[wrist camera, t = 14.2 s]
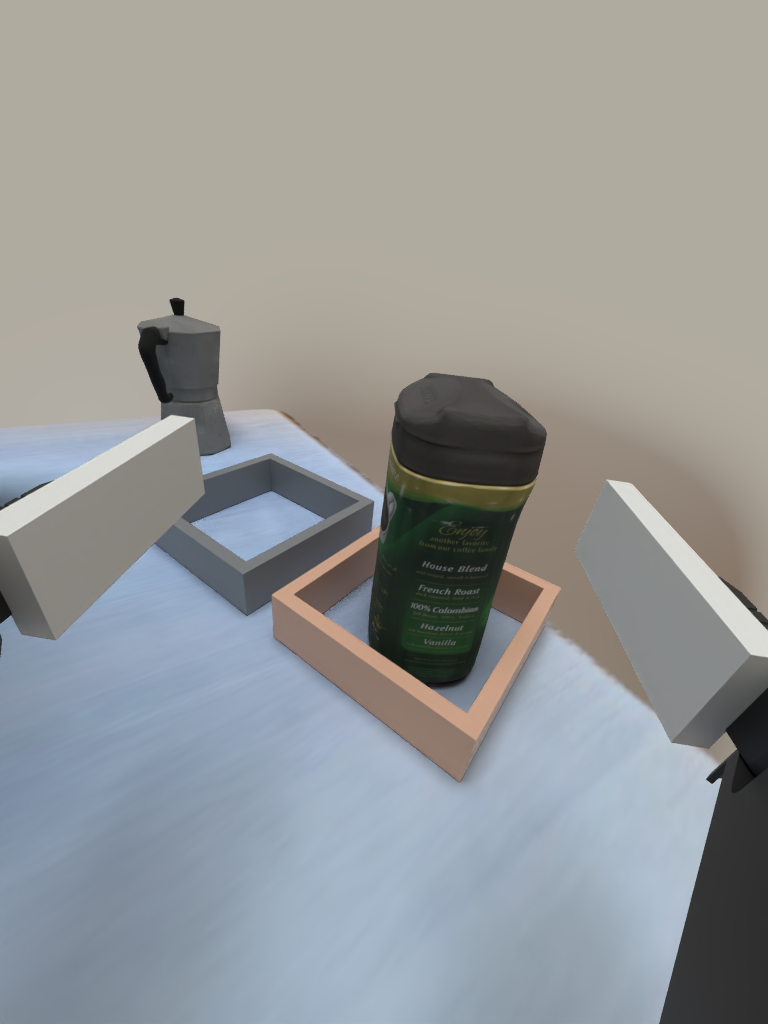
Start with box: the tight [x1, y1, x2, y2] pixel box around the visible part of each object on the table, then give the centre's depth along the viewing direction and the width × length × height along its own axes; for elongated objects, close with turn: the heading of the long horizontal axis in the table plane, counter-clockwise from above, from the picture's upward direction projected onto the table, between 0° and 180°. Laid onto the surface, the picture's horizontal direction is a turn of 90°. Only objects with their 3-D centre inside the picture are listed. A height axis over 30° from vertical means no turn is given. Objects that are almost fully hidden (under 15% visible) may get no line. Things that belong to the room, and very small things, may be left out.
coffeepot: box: [137, 298, 231, 456], centre depth 50 cm, size 15×9×18 cm, turn 179°
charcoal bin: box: [155, 454, 374, 615], centre depth 38 cm, size 15×15×4 cm
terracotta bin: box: [272, 526, 561, 782], centre depth 29 cm, size 15×15×4 cm
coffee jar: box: [369, 373, 547, 683], centre depth 26 cm, size 10×8×19 cm
